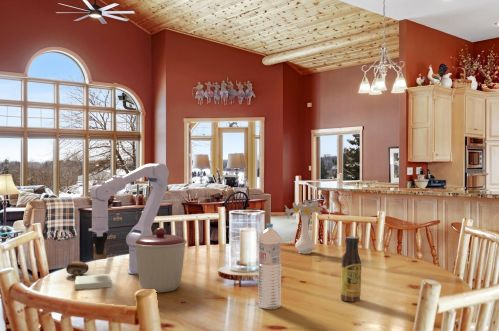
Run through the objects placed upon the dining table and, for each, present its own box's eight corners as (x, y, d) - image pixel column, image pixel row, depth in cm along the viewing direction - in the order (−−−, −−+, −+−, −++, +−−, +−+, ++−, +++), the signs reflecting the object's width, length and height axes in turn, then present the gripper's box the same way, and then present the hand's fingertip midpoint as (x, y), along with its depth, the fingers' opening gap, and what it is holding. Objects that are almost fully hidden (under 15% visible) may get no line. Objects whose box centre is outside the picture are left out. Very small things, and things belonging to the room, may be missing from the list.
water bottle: (257, 303, 149) (257, 222, 149) (279, 302, 150) (279, 222, 149) (259, 310, 142) (259, 225, 142) (282, 309, 143) (282, 225, 143)
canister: (193, 284, 173) (193, 225, 173) (176, 297, 155) (175, 232, 155) (146, 281, 176) (146, 223, 176) (123, 294, 159) (123, 230, 159)
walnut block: (106, 256, 184) (106, 243, 184) (106, 258, 179) (106, 245, 179) (93, 257, 182) (93, 243, 182) (93, 259, 178) (93, 245, 178)
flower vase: (282, 250, 238) (282, 199, 237) (319, 250, 239) (319, 199, 239) (287, 255, 225) (287, 202, 224) (325, 255, 226) (326, 201, 226)
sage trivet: (110, 278, 180) (110, 274, 180) (111, 286, 169) (111, 281, 169) (76, 281, 176) (76, 276, 176) (74, 289, 165) (74, 284, 165)
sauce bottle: (347, 303, 149) (348, 239, 149) (336, 298, 155) (336, 236, 155) (365, 301, 152) (365, 238, 151) (353, 296, 157) (353, 235, 157)
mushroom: (79, 271, 179) (79, 255, 182) (61, 278, 180) (61, 262, 184) (92, 277, 185) (92, 262, 189) (75, 284, 187) (75, 269, 190)
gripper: (89, 215, 187) (89, 250, 187) (88, 219, 173) (88, 257, 173) (108, 214, 189) (108, 249, 189) (108, 218, 175) (108, 256, 175)
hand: (99, 253), depth 181 cm, fingers closed on walnut block, 4 cm apart
